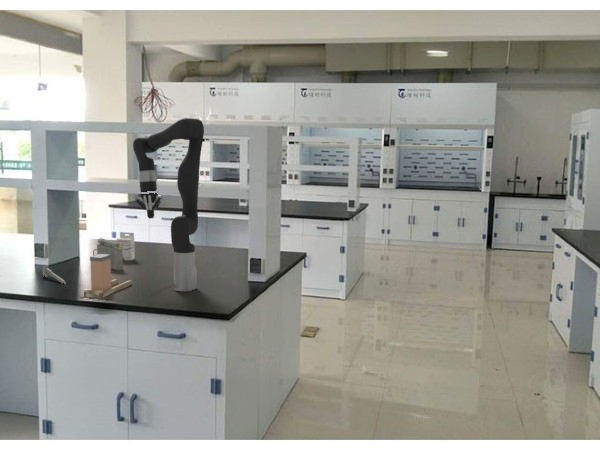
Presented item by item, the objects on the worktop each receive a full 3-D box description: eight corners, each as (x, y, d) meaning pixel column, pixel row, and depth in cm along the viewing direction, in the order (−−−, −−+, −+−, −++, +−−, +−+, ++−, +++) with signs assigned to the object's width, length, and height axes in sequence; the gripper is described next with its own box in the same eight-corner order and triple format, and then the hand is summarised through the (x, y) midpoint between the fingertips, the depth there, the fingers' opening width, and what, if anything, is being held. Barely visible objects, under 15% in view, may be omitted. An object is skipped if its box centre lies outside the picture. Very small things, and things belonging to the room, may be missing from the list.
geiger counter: (124, 242, 303) (98, 236, 320) (113, 243, 298) (87, 237, 315) (125, 269, 305) (99, 261, 321) (113, 271, 300) (88, 263, 317)
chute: (135, 287, 270) (135, 278, 269) (105, 301, 247) (105, 291, 246) (111, 285, 272) (111, 276, 272) (79, 298, 249) (79, 289, 249)
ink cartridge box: (116, 260, 327) (115, 233, 325) (119, 258, 332) (119, 231, 330) (131, 260, 326) (131, 233, 324) (135, 258, 331) (134, 232, 329)
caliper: (42, 277, 286) (42, 264, 285) (45, 276, 287) (44, 264, 286) (64, 284, 273) (64, 271, 272) (66, 284, 274) (66, 270, 273)
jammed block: (111, 291, 257) (110, 254, 255) (102, 295, 250) (101, 257, 248) (100, 290, 258) (99, 253, 256) (91, 294, 251) (90, 256, 249)
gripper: (130, 182, 275) (134, 219, 276) (156, 179, 272) (160, 217, 273) (139, 182, 283) (142, 218, 283) (164, 179, 279) (167, 217, 280)
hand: (151, 218), depth 278 cm, fingers closed
